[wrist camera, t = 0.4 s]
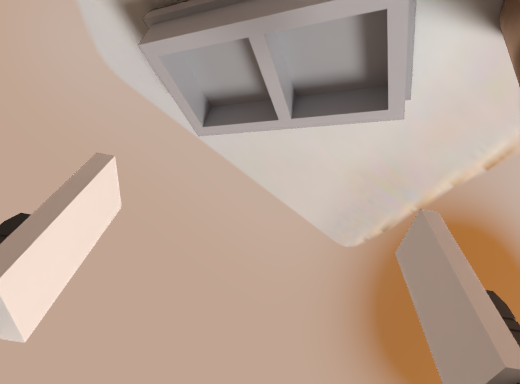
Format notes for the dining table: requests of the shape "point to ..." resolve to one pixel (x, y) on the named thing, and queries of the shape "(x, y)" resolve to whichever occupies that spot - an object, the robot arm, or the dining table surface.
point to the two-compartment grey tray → (283, 61)
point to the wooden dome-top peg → (512, 32)
